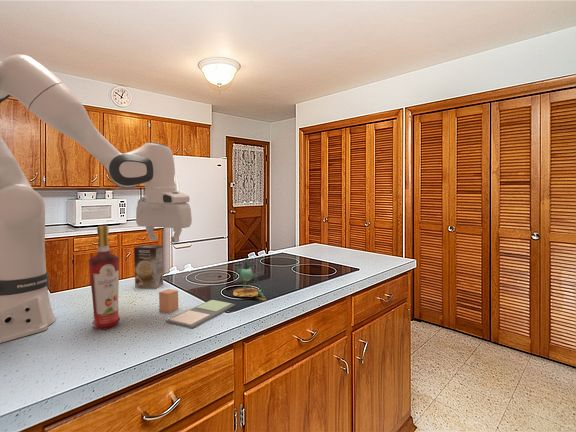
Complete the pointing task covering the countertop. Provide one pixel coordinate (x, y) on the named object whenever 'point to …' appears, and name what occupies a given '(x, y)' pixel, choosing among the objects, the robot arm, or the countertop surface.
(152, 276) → the coffee box
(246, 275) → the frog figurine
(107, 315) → the liquor
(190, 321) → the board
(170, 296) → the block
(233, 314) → the countertop surface
